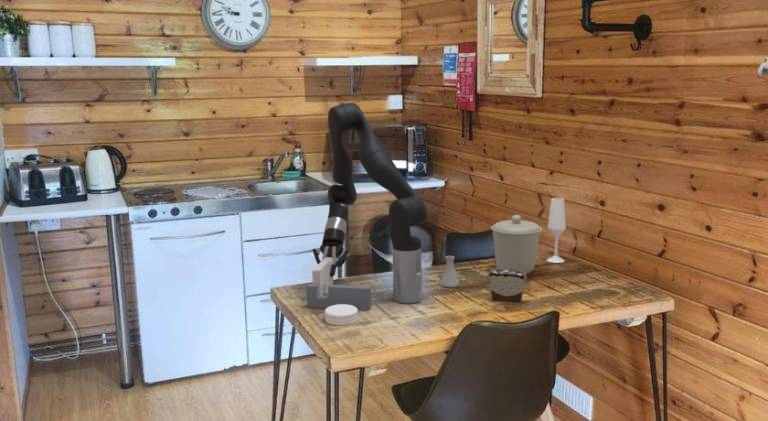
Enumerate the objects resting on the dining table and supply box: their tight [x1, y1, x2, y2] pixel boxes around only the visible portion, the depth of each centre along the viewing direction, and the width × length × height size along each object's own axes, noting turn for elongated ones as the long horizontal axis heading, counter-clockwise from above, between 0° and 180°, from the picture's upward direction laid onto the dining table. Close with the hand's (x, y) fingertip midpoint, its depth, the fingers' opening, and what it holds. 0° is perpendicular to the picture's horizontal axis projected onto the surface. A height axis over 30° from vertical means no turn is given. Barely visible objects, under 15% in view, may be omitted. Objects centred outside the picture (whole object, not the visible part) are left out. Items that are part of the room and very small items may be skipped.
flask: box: [439, 255, 461, 288], centre depth 241 cm, size 7×7×10 cm
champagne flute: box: [546, 197, 567, 264], centre depth 267 cm, size 7×7×24 cm
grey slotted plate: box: [306, 283, 372, 311], centre depth 221 cm, size 20×2×7 cm, turn 79°
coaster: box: [324, 304, 359, 326], centre depth 211 cm, size 10×10×4 cm
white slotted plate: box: [311, 257, 335, 296], centre depth 236 cm, size 16×2×10 cm, turn 169°
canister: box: [490, 214, 543, 275], centre depth 254 cm, size 18×18×21 cm
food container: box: [487, 267, 527, 305], centre depth 225 cm, size 12×6×10 cm, turn 71°
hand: (326, 275), depth 240 cm, fingers closed on white slotted plate, 2 cm apart
